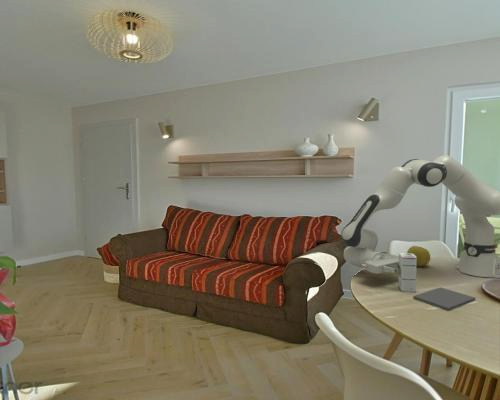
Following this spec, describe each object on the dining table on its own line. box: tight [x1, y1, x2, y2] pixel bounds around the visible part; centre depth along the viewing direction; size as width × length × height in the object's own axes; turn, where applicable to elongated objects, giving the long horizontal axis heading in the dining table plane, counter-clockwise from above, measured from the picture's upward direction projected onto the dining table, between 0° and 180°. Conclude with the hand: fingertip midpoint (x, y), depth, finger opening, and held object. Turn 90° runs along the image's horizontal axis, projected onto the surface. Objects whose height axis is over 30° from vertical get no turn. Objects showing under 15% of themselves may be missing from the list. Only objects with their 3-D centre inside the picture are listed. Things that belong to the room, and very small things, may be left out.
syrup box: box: [397, 252, 417, 293], centre depth 135 cm, size 6×6×14 cm
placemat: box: [412, 287, 476, 311], centre depth 125 cm, size 18×13×1 cm
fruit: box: [406, 245, 431, 267], centre depth 169 cm, size 10×11×10 cm
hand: (402, 269), depth 137 cm, fingers open, 8 cm apart
